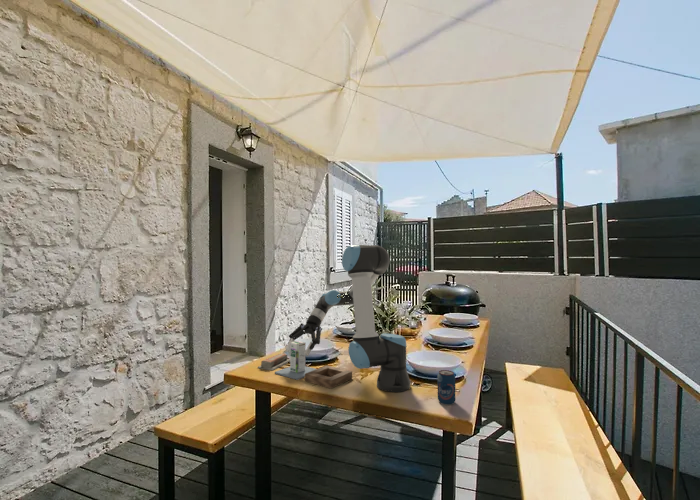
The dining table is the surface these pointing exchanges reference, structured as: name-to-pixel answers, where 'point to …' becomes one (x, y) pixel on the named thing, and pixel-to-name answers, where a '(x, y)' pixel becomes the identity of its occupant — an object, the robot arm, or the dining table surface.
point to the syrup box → (297, 356)
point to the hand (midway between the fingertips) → (296, 352)
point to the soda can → (446, 387)
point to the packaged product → (274, 362)
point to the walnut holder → (322, 379)
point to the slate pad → (294, 373)
